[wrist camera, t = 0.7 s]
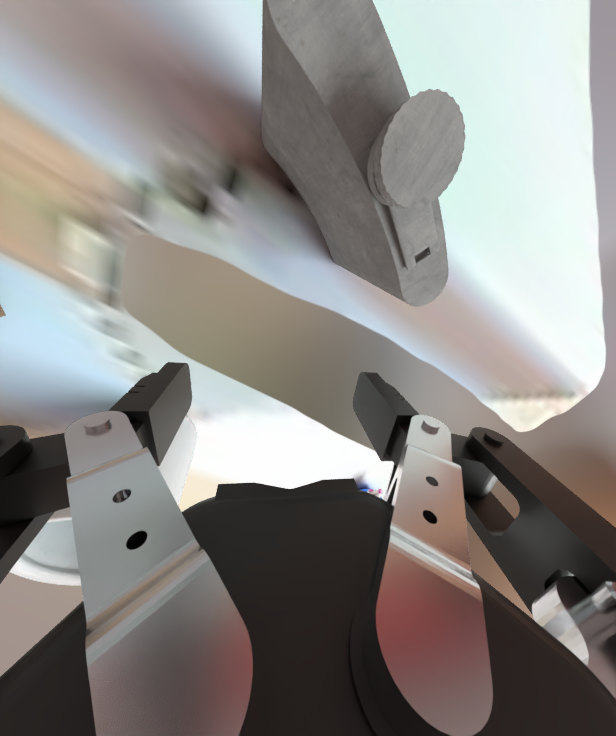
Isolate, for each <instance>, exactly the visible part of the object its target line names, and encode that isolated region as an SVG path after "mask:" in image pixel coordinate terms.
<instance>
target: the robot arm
mask: <svg viewBox="0 0 616 736" xmlns="http://www.w3.org/2000/svg"><path fill="white" fill-rule="evenodd" d="M191 401H192V391H191V381H190V371H189V366H188V364H187V363H173V362H168V363H166V364H165V365H164V366H163V367H162V369H161V370H160V371H159V372H158V373H152V374H150V375H148V376H146V377H143V378H142V379H140V380H139V381H138V382H137V383H136V384H135V385H134V387H132V388H131V389H130V390H129V391H128V393H126V394H125V395H124V396H123V397H122V398H121V399H120V400H119V401H118V402H117V403H116V404H115V405H114V406H113V407H112V408H111V409H110V410H109V411H103V412H98V413H94V414H90V415H87V416H85V417H82V418H80V419H78V420H77V421H75V422H73V423H72V424H71V425H70V426H68V428H67V429H66V430H65V433H62V434H57V435H51V436H45V437H39V438H34V439H29V437H28V435H27V433H26V431H25V430H24V428H22V427H19V426H12V425H7V426H0V583H1V582H2V581H3V579H4V578H5V577H6V575H7V574H8V573H9V571H10V570H11V569H12V567H13V566H14V565H15V564H16V562H17V561H18V560H19V558H20V557H21V556H22V554H23V553H24V552H25V550H26V549H27V548H28V546H29V545H30V544H31V542H32V541H33V540H34V539H35V537H36V536H37V535H38V533H39V532H40V531H41V529H42V528H43V527H44V525H45V524H46V523H47V521H48V520H49V519H50V517H51V516H52V515H53V514H54V512H55V511H58V510H62V509H65V508H69V507H70V510H71V517H72V524H73V531H74V538H75V545H76V552H77V559H78V566H79V573H80V580H81V587H82V593H83V600H84V601H83V602H81V604H79V605H78V606H77V607H76V608H75V609H74V610H73V611H72V612H70V613H69V614H68V615H67V616H66V617H65V618H64V619H63V620H62V621H61V622H60V623H59V624H57V626H55V627H54V628H53V629H52V630H51V631H50V632H49V633H48V634H47V635H45V636H44V637H43V638H42V639H41V640H40V641H39V642H38V643H37V644H36V645H35V646H33V647H32V648H31V649H30V650H29V651H28V652H27V653H26V654H25V655H24V656H23V657H22V658H20V659H19V660H18V661H17V662H16V663H15V664H14V665H13V666H12V667H11V668H9V669H8V670H7V671H6V672H5V673H4V674H3V675H2V676H1V677H0V736H616V528H615V527H614V526H613V525H611V524H610V523H609V522H608V521H607V520H605V519H604V518H603V517H602V516H601V515H599V514H598V513H597V512H596V511H595V510H593V509H592V508H591V507H590V506H589V505H587V504H586V503H585V502H584V501H582V500H581V499H580V498H579V497H578V496H576V495H575V494H574V493H573V492H572V491H570V490H569V489H568V488H567V487H565V486H564V485H563V484H562V483H560V482H559V481H558V480H557V479H556V478H555V477H553V476H552V475H551V474H550V473H548V472H547V471H546V470H545V469H544V468H543V467H541V466H540V465H539V464H538V463H536V462H535V461H534V460H533V459H531V458H530V457H529V456H528V455H527V454H526V453H524V452H523V451H522V450H521V449H520V448H518V447H517V446H516V445H515V444H513V443H512V442H511V441H510V440H508V439H507V438H506V437H504V436H503V435H501V434H499V433H497V432H495V431H492V430H489V429H486V428H481V427H476V428H473V429H472V430H471V432H470V434H469V436H468V437H465V436H461V435H455V434H451V432H450V430H449V428H448V427H447V426H446V425H445V424H443V423H442V422H440V421H439V420H437V419H435V418H432V417H429V416H425V415H419V414H418V412H417V411H416V410H414V408H413V407H412V406H411V405H410V404H409V403H408V402H407V401H405V398H404V397H403V396H401V395H400V393H399V392H398V391H397V390H396V389H395V388H394V387H392V386H391V385H389V384H388V383H386V382H385V381H384V380H383V379H382V378H381V377H380V376H379V375H378V374H377V373H370V372H361V373H360V375H359V378H358V382H357V386H356V390H355V394H354V398H353V408H354V411H355V413H356V415H357V417H358V419H359V421H360V422H361V424H362V426H363V428H364V430H365V432H366V434H367V435H368V437H369V439H370V441H371V443H372V445H373V447H374V449H375V450H376V452H377V454H378V456H379V458H380V460H381V461H393V462H394V465H393V468H392V471H391V474H390V478H389V482H388V485H387V489H386V493H385V496H384V500H383V499H381V498H379V497H377V496H375V495H373V494H371V493H368V492H365V491H361V490H358V488H357V485H356V483H355V480H354V479H333V480H321V481H318V482H315V483H311V484H308V485H304V486H301V487H298V488H294V489H285V488H279V487H274V486H269V485H264V484H258V483H237V484H218V488H217V492H216V496H215V497H212V498H209V499H206V500H204V501H201V502H199V503H197V504H195V505H193V506H191V507H189V508H188V509H186V510H185V511H183V512H181V511H180V509H179V507H178V505H177V503H176V501H175V499H174V497H173V495H172V493H171V491H170V489H169V488H168V486H167V484H166V482H165V480H164V478H163V476H162V474H161V472H160V470H159V468H158V466H160V465H161V463H162V461H163V459H164V457H165V455H166V453H167V451H168V449H169V447H170V445H171V443H172V441H173V439H174V437H175V435H176V433H177V432H178V430H179V428H180V426H181V424H182V422H183V420H184V418H185V416H186V414H187V412H188V410H189V408H190V406H191ZM497 480H499V481H500V482H501V483H502V484H503V485H504V486H505V487H506V488H507V489H508V490H509V491H510V492H511V493H512V494H513V495H514V497H515V498H516V499H517V501H518V503H519V506H520V512H519V515H518V516H517V517H516V519H514V518H513V517H512V516H511V514H510V513H509V512H508V511H507V510H506V509H505V508H504V507H503V505H502V504H501V503H500V502H499V501H498V499H497V498H496V497H495V496H494V495H493V494H492V493H491V489H492V488H493V486H494V485H495V483H496V481H497ZM466 519H467V520H468V522H469V523H470V524H471V526H472V528H473V529H474V531H475V532H476V533H477V535H478V536H479V538H480V539H481V541H482V542H483V544H484V545H485V546H486V548H487V549H488V551H489V552H490V554H491V555H492V557H493V558H494V560H495V561H496V563H497V564H498V565H499V567H500V568H501V570H502V571H503V573H504V574H505V576H506V577H507V579H508V580H509V582H510V583H511V584H512V586H513V587H514V589H515V590H516V592H517V593H518V595H519V596H520V597H521V599H522V600H523V602H524V603H525V605H526V606H527V608H528V609H529V611H530V612H531V614H532V615H533V617H534V620H535V621H534V620H533V619H532V618H530V617H529V616H528V615H527V614H526V613H524V612H523V611H522V610H521V609H519V608H518V607H517V606H516V605H514V604H513V603H512V602H511V601H510V600H508V599H507V598H506V597H505V596H503V595H502V594H501V593H499V592H498V591H497V590H496V589H495V588H493V587H492V586H491V585H489V583H487V582H486V581H485V580H484V579H482V578H481V577H480V576H479V575H477V574H476V573H475V572H474V571H472V570H471V567H470V557H469V547H468V535H467V524H466Z"/></svg>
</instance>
